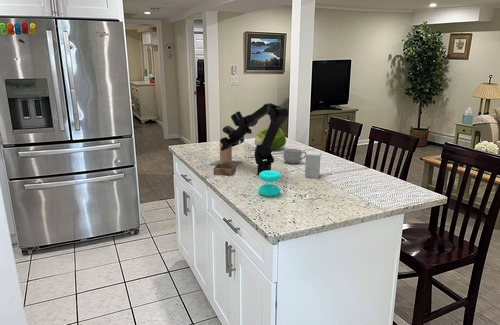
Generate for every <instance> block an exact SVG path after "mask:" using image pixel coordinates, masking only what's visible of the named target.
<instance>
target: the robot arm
mask: <svg viewBox="0 0 500 325" xmlns="http://www.w3.org/2000/svg"><path fill="white" fill-rule="evenodd" d="M266 115H267V116H269V119H270V123H269V126H268V127H267V128H268V130H267V133H266V135H265V138H264V140H263V143H262V144H261V145H257V146H256V145H255V149H254V160H255V164H257V166H256V168H257V171H256V175H257V176H259V174H260V173H261V172H262V171H268V170H271V171H272V164H273V163H274V162H275V159H274V157H273V155H272V151H273V150H271V145H272V143H273V141H274V138H275V136H276V134H277V131H278V129H279V128H280V126H281V125H282V124H283V123H285V121H286V120H287V119H288V117H289V112H288V109H287V108H286V107H283V106H279V105H277V104H274V103H271V102H268V103H264V104H263V105H262V106H261V107H259V108H258V109H256V110H255V111H253V113H251V114H248V115H245V116H243V115H242V112H241V111H236V112H235V113H233V114H232V115H231V116H230V119H231V121H232V122H233V124H234V125H235V127H237V128H236V129H235V128H233V127H232V126H231V125H226V126H224V127H223V128H222V132H223V133H225V134H227V136H226V137H225V136H224V137H221V138H220V139H219V143H220V142H221V143H222V145H223V146H222V148H221V151H223V150H226V149H228V148H231V146H232V148H233V147H236V146H239V145H240V144H243V143H244V142H245V136H246V135H247V134H249V135H252V133H253V132H252V129H251V127H255V126H256V125H257V124H258V122H259V120H260V119H262V118H264V117H265V116H266Z"/></svg>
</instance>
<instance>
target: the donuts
mask: <svg viewBox="0 0 500 325" xmlns="http://www.w3.org/2000/svg"><path fill="white" fill-rule="evenodd" d="M281 177H282V176H281V173H280V172H278V171H276V170H272V169H271V170H268V171H262V172H261V173H260V174H259V175H258V179H260V181H262V182H265V183H268V184H262V185H261V186H259V188H258V193H259V194H260V195H262V196H265V197H276V196H278V195H279V194H280V193H281V188H280V186H277V185H276V184H269V183H275V182H278V181H279V180H281Z"/></svg>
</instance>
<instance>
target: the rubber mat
mask: <svg viewBox="0 0 500 325" xmlns="http://www.w3.org/2000/svg"><path fill="white" fill-rule="evenodd" d="M217 163H224V164H236V166H237V165H240V164H243V161H237V160H233V159H232V161H231V162H228V163H225V162H220V159H218V160H216V161H213V162H211V163H209V165H210V166H214V167H215V166H216V165H217Z"/></svg>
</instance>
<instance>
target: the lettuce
mask: <svg viewBox="0 0 500 325" xmlns="http://www.w3.org/2000/svg"><path fill="white" fill-rule="evenodd" d="M268 128H269V127H267V128H265V129H262V130H260V131H259V132H258V133H257V134H256V136H255V138H254V145H255V147H256V146H257V145H261V144H262V143H263V140H264V138H265V135H266V133H267V130H268ZM286 142H287V137H286V134H285V132H284V131H283V130H282V128H280V127H279V129H278V131H277V134H276V136H275V138H274V141H273V143H272V145H271V151H273V150H274V151H275V150H278V149H280V148H282V147H285V145H286Z"/></svg>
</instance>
